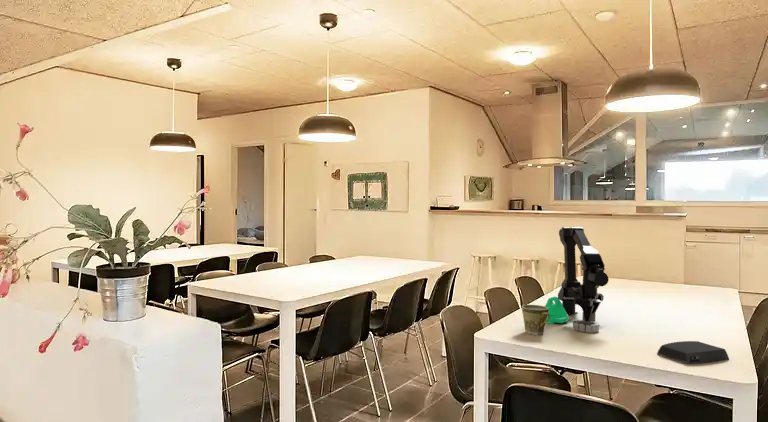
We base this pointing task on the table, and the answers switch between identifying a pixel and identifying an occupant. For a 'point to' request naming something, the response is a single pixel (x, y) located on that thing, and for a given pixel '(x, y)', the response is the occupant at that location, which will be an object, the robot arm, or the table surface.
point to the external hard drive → (692, 352)
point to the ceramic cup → (535, 318)
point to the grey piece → (586, 326)
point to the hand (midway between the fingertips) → (588, 319)
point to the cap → (592, 317)
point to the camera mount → (556, 311)
